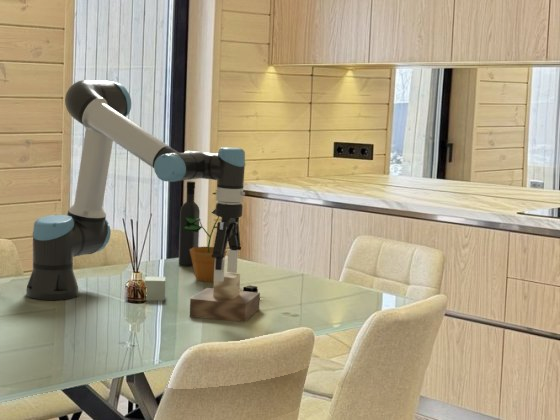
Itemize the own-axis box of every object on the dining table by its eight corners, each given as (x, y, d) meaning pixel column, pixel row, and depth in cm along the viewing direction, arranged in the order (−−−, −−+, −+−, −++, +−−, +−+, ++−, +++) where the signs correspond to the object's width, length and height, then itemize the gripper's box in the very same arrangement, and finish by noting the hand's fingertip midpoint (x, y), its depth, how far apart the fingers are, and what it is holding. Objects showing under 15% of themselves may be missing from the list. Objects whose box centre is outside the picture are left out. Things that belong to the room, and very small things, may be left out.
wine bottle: (177, 265, 344) (180, 181, 340) (184, 262, 349) (187, 180, 345) (191, 266, 342) (194, 182, 338) (198, 264, 347) (201, 181, 343)
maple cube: (213, 296, 271) (213, 276, 271) (219, 292, 277) (220, 272, 276) (233, 298, 270) (234, 277, 269) (239, 294, 276) (240, 274, 275)
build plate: (249, 306, 286) (249, 291, 285) (228, 303, 289) (229, 288, 289) (269, 299, 297) (270, 285, 296) (249, 296, 300) (250, 281, 300)
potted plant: (245, 279, 324) (248, 190, 320) (211, 287, 308) (215, 194, 305) (202, 271, 334) (206, 185, 330) (168, 279, 318) (171, 189, 314)
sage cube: (144, 300, 286) (145, 280, 285) (144, 295, 292) (145, 276, 291) (164, 300, 287) (165, 280, 286) (164, 296, 293) (165, 276, 292)
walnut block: (189, 316, 268) (190, 298, 268) (206, 304, 284) (207, 287, 283) (244, 321, 265) (245, 304, 264) (259, 309, 280) (259, 292, 280)
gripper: (230, 208, 257) (225, 286, 260) (253, 199, 282) (249, 270, 284) (203, 206, 259) (199, 283, 262) (228, 196, 283) (225, 267, 286)
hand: (225, 276), depth 273 cm, fingers open, 13 cm apart
